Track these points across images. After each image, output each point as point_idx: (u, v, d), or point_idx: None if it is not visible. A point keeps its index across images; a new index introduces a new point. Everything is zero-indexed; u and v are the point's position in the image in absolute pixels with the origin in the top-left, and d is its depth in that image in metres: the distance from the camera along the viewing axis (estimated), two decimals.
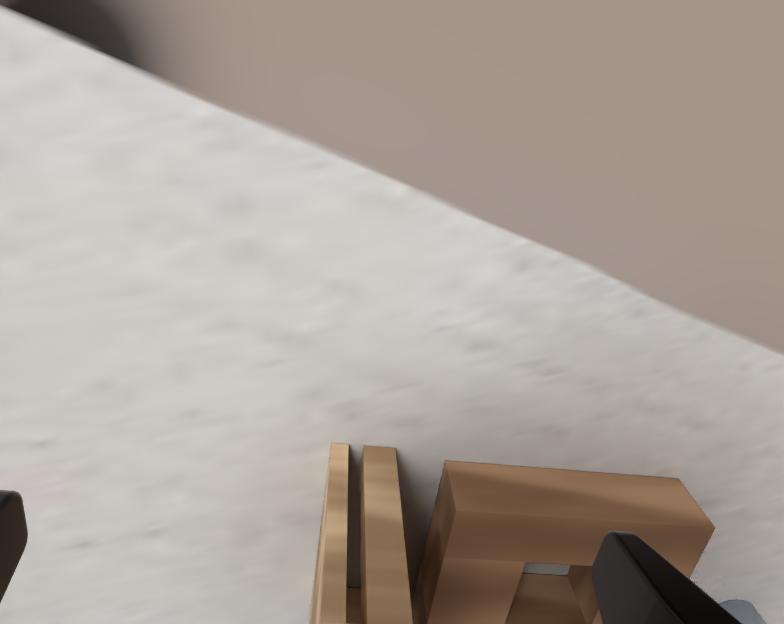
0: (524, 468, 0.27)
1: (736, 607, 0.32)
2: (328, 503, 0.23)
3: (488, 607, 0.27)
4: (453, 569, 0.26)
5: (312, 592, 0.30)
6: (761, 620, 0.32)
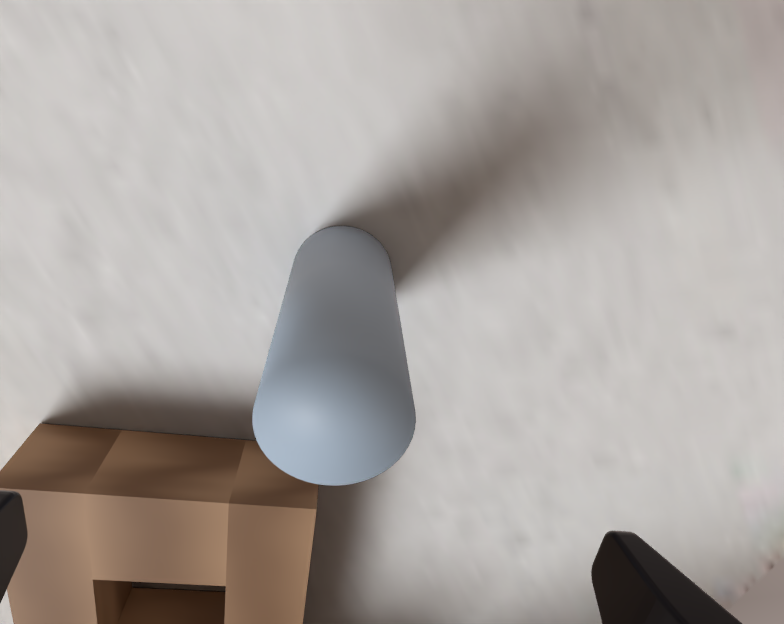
0: None
1: None
2: None
3: None
4: None
5: None
6: (296, 260, 0.17)
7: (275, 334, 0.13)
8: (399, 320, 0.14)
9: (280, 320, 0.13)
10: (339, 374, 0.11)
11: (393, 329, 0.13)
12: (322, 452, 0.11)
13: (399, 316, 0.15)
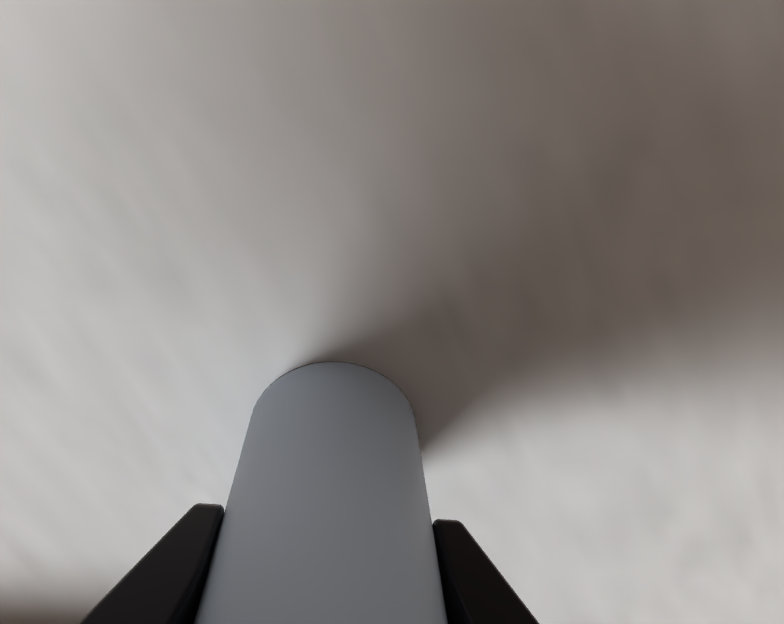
0: None
1: None
2: None
3: None
4: None
5: None
6: (250, 435, 0.09)
7: None
8: None
9: None
10: None
11: None
12: None
13: None
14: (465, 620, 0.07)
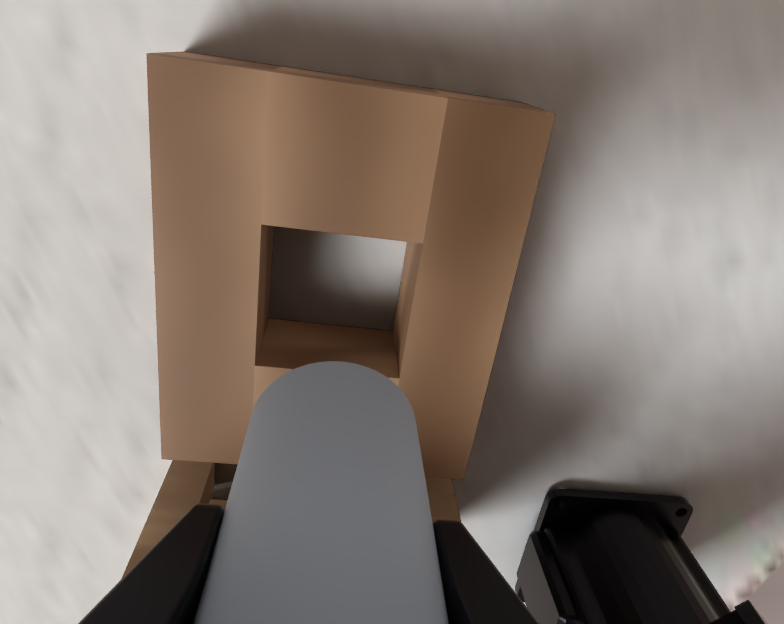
0: None
1: None
2: None
3: None
4: None
5: None
6: (249, 434, 0.09)
7: None
8: None
9: None
10: None
11: None
12: None
13: (442, 587, 0.08)
14: (465, 620, 0.07)
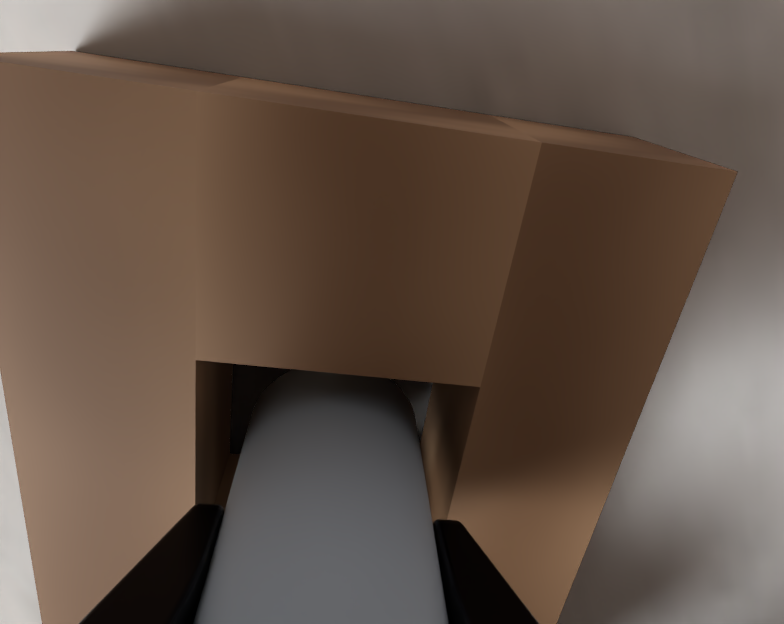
0: None
1: None
2: None
3: None
4: None
5: None
6: (249, 434, 0.09)
7: None
8: None
9: None
10: None
11: None
12: None
13: (442, 586, 0.08)
14: (465, 620, 0.07)
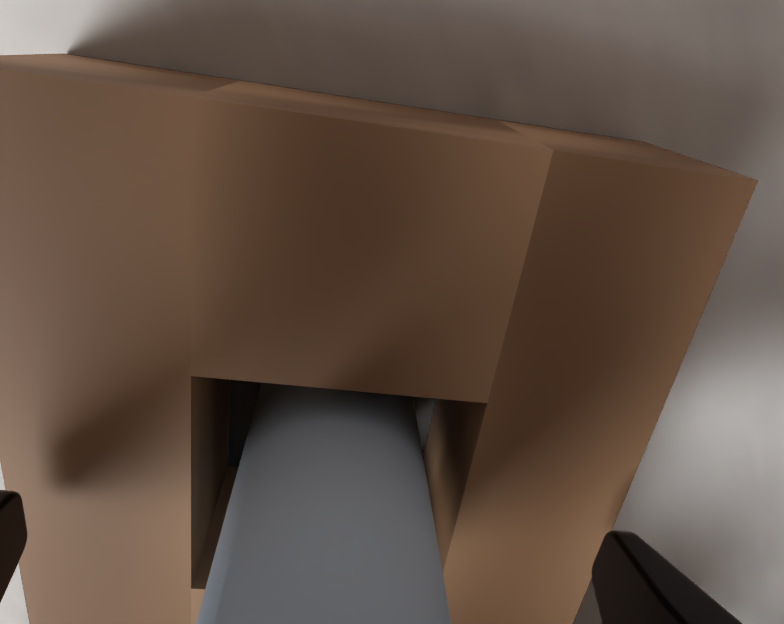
0: None
1: None
2: None
3: None
4: None
5: None
6: (263, 388, 0.11)
7: (202, 611, 0.07)
8: (435, 535, 0.08)
9: (217, 565, 0.07)
10: None
11: (432, 602, 0.07)
12: None
13: (431, 509, 0.09)
14: None
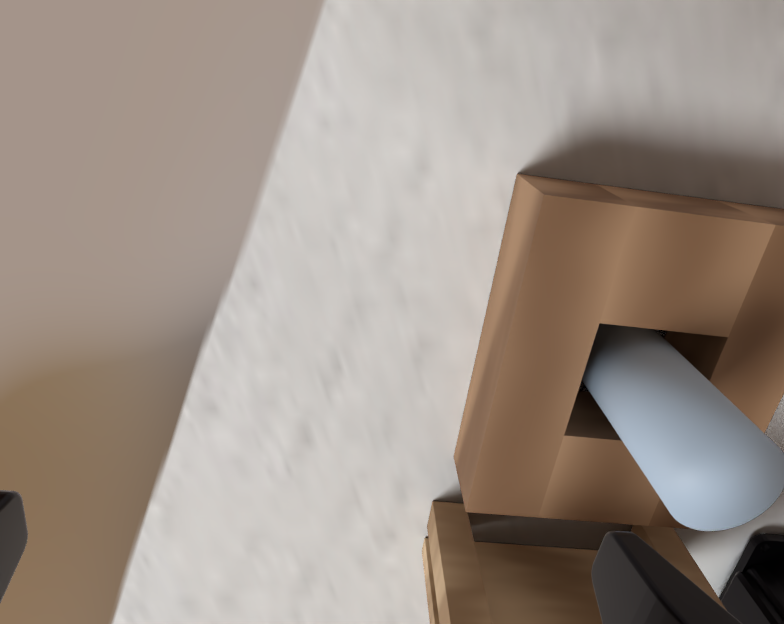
0: (472, 378, 0.22)
1: None
2: None
3: (638, 466, 0.21)
4: (560, 507, 0.21)
5: None
6: None
7: (642, 411, 0.16)
8: None
9: (636, 398, 0.17)
10: (742, 451, 0.14)
11: None
12: (710, 506, 0.15)
13: None
14: None
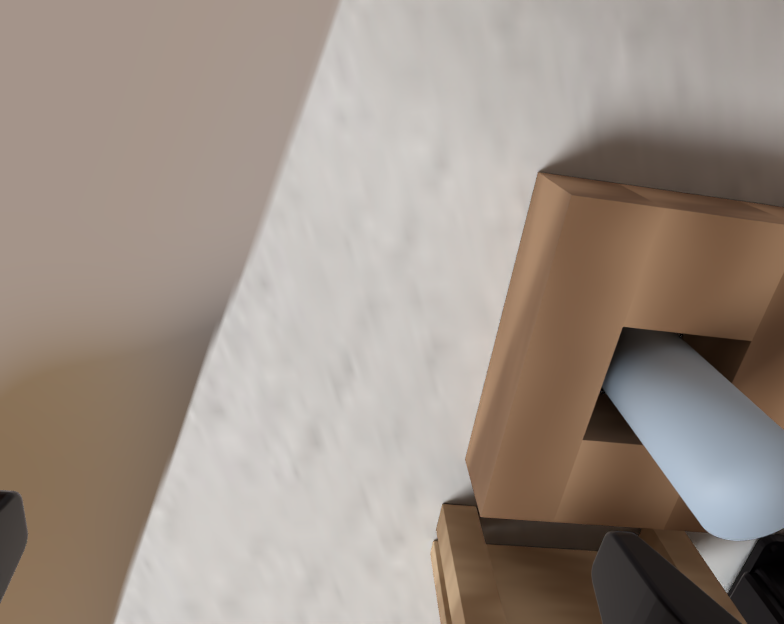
0: (485, 380, 0.22)
1: None
2: None
3: (656, 470, 0.20)
4: (575, 511, 0.21)
5: None
6: None
7: (669, 418, 0.16)
8: None
9: (661, 404, 0.17)
10: (776, 460, 0.14)
11: None
12: (740, 516, 0.15)
13: None
14: None
